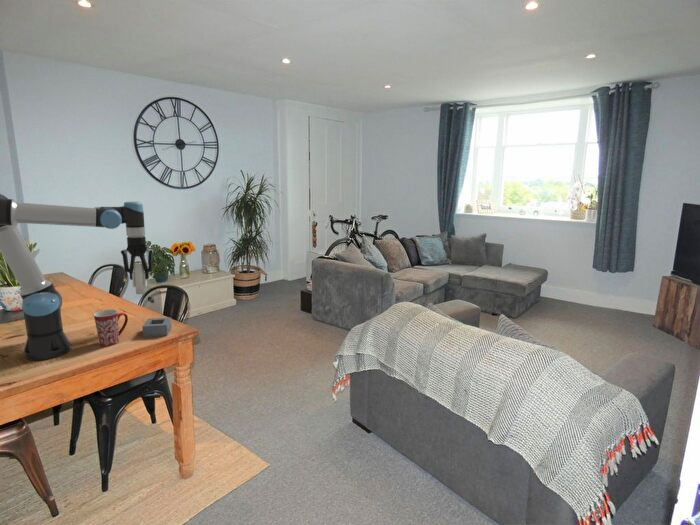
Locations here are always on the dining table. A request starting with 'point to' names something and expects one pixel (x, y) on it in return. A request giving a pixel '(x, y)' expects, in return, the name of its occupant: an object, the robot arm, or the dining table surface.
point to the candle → (139, 278)
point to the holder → (157, 327)
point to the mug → (108, 326)
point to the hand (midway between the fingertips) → (140, 286)
